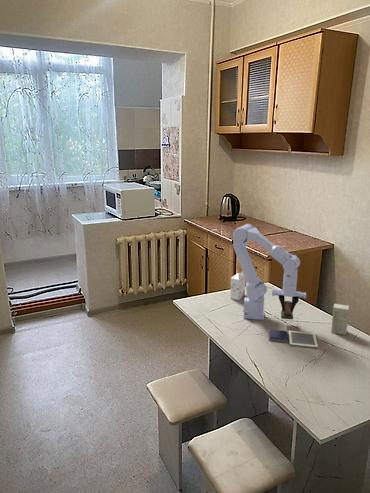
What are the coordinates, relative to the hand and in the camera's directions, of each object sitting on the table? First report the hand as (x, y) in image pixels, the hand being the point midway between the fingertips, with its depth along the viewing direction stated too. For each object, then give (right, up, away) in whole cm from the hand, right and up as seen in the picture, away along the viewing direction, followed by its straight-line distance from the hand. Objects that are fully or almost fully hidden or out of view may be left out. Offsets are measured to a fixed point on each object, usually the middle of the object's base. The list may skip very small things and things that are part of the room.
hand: (287, 311), depth 167 cm
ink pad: (-6, -10, -8) cm, 14 cm away
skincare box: (+21, -8, -4) cm, 23 cm away
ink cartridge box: (-18, +2, +31) cm, 36 cm away
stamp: (0, -3, +1) cm, 3 cm away
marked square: (+3, -10, -10) cm, 15 cm away
